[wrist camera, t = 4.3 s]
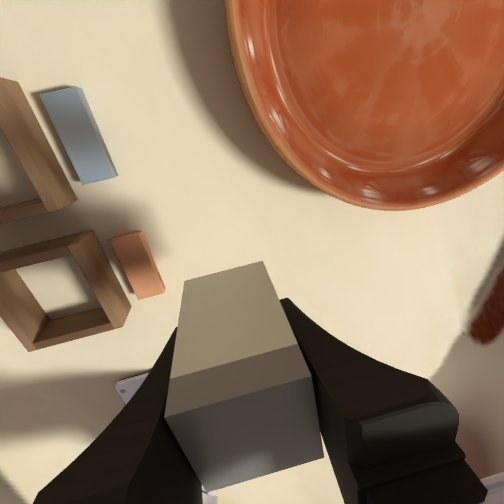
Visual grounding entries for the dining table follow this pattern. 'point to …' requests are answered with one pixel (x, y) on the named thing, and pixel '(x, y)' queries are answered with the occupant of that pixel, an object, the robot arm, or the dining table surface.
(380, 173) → the saucer
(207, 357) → the plug
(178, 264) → the dining table surface
